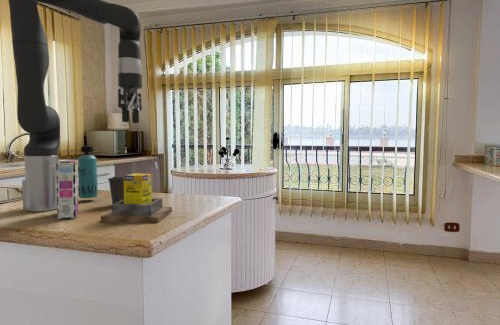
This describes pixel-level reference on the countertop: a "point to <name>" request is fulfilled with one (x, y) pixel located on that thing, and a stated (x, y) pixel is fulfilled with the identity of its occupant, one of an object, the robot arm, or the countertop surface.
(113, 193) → the coffee cup
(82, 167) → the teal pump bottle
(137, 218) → the caddy
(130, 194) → the supplement box
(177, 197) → the countertop surface
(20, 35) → the robot arm
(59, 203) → the candy bar box
